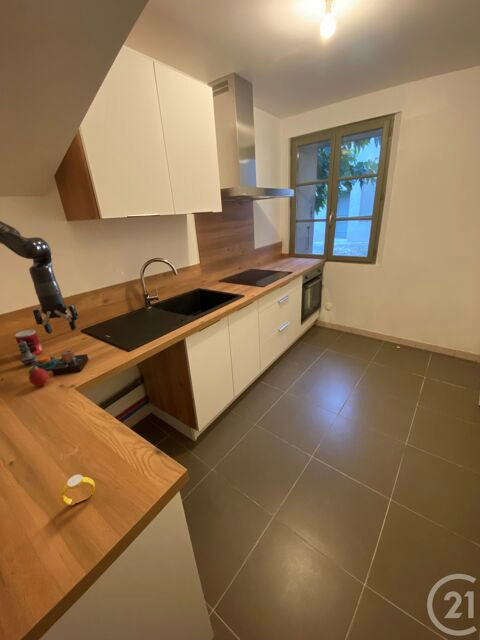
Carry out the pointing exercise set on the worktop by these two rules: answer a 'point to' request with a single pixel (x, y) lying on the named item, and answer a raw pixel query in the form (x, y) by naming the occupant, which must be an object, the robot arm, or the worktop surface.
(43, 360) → the ignition button
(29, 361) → the grey chess piece
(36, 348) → the canned food
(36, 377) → the red round piece
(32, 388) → the worktop surface
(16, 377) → the worktop surface
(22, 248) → the robot arm
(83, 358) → the black square tray
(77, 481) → the watch
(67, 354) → the hob knob
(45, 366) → the ignition block
